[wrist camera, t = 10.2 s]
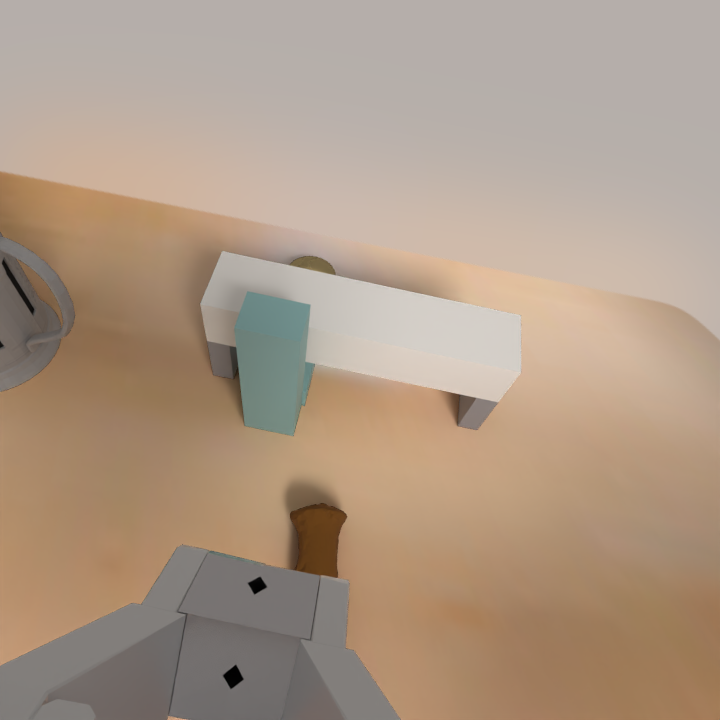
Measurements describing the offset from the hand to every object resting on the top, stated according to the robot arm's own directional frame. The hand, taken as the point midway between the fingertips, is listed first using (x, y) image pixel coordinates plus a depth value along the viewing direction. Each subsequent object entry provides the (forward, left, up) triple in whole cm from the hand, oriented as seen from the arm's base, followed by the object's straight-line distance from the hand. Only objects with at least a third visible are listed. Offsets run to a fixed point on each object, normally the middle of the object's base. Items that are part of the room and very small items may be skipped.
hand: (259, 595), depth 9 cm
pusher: (+4, -20, -25) cm, 32 cm away
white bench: (-1, -20, -25) cm, 32 cm away
